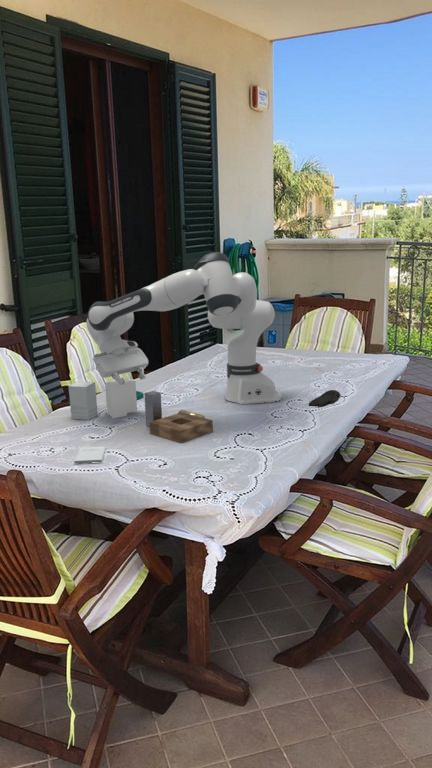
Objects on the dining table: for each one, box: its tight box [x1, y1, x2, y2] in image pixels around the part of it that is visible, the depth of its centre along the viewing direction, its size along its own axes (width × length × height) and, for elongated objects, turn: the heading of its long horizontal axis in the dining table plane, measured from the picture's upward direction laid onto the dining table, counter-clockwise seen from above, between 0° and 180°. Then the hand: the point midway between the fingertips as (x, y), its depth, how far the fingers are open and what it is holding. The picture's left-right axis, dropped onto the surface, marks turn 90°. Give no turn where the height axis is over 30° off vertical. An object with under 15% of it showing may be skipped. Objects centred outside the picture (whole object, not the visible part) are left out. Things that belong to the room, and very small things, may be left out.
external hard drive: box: [73, 445, 107, 464], centre depth 201 cm, size 2×8×12 cm
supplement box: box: [68, 381, 99, 421], centre depth 241 cm, size 7×7×13 cm
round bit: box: [177, 409, 206, 418], centre depth 231 cm, size 10×4×4 cm
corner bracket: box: [104, 378, 138, 419], centre depth 246 cm, size 11×11×12 cm
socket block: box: [149, 412, 214, 444], centre depth 221 cm, size 15×15×4 cm
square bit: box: [143, 390, 163, 428], centre depth 228 cm, size 4×4×12 cm
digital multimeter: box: [136, 390, 145, 401], centre depth 262 cm, size 7×15×3 cm, turn 154°
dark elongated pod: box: [308, 389, 342, 408], centre depth 255 cm, size 22×7×3 cm, turn 147°
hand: (133, 381), depth 233 cm, fingers open, 8 cm apart
